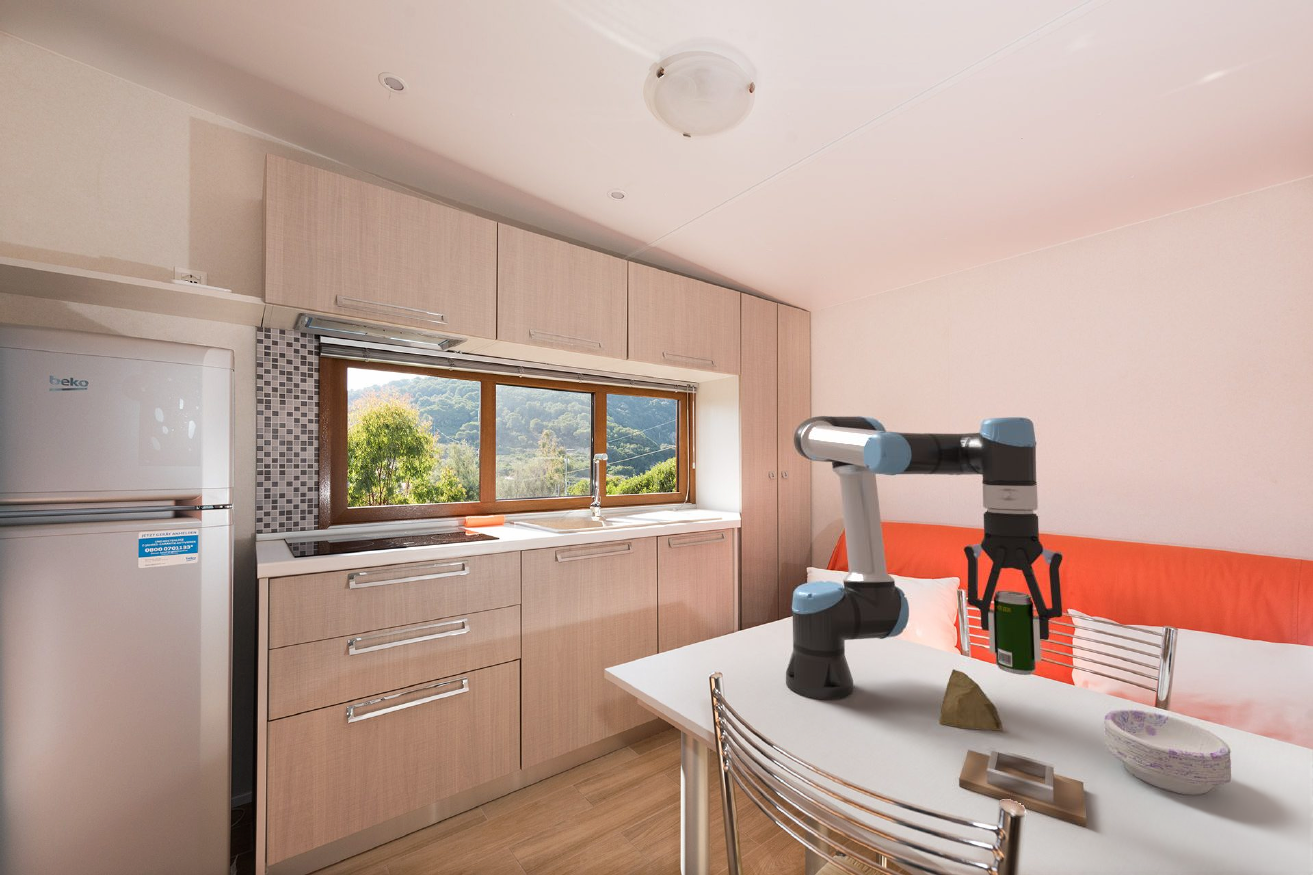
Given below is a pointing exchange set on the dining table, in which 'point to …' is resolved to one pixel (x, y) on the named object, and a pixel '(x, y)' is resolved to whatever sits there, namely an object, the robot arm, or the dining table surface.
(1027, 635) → the beer can
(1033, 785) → the socket board
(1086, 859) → the dining table surface
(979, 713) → the rock
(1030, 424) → the robot arm
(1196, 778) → the paper bowls
